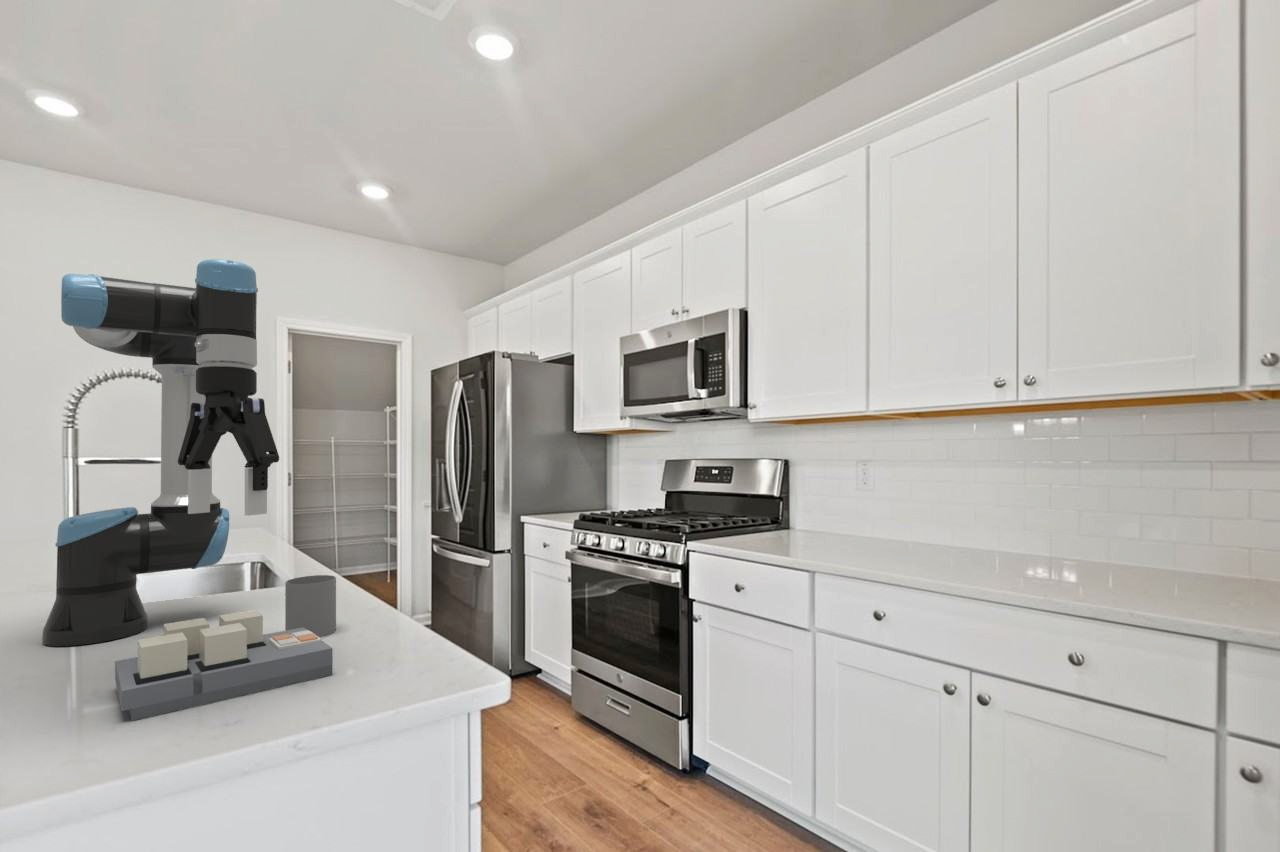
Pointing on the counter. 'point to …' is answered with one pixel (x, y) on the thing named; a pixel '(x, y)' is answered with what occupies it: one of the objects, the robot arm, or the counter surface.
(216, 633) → the button
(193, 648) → the button
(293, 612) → the cup
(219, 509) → the robot arm
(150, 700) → the board
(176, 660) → the button
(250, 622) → the button
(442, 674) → the counter surface
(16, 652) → the counter surface
